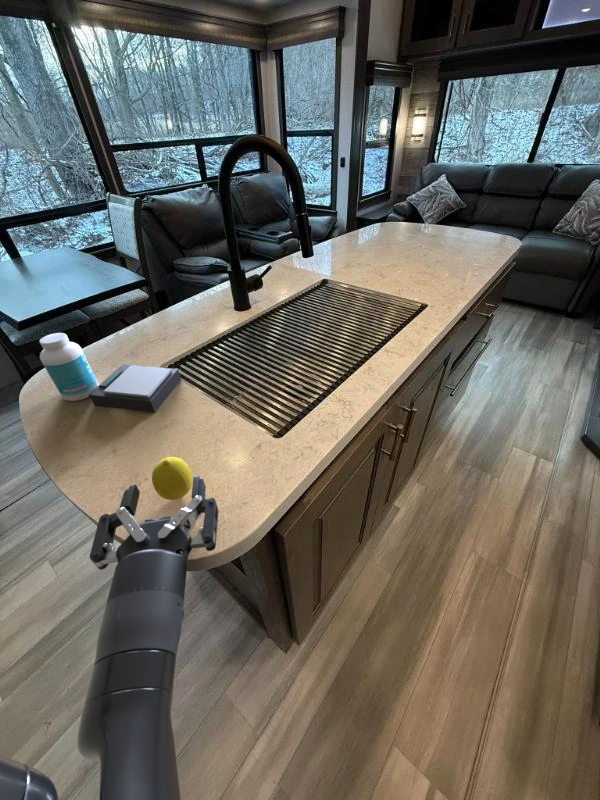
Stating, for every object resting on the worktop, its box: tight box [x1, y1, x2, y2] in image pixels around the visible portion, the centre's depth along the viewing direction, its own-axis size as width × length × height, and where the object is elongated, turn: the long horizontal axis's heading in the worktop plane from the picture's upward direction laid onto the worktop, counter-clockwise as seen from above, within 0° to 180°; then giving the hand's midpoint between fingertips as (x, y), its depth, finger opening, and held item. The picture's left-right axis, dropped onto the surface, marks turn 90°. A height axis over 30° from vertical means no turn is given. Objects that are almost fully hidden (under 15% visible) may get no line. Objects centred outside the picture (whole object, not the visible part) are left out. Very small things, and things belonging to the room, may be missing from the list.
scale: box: [88, 363, 182, 413], centre depth 73 cm, size 14×12×4 cm
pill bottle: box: [39, 332, 100, 402], centre depth 70 cm, size 8×7×14 cm
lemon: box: [151, 456, 193, 501], centre depth 50 cm, size 6×6×8 cm
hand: (166, 483), depth 47 cm, fingers open, 8 cm apart
